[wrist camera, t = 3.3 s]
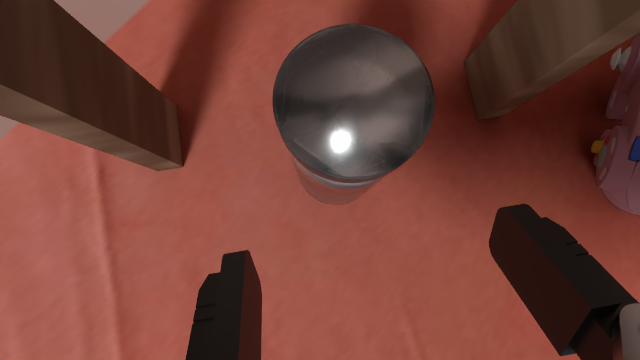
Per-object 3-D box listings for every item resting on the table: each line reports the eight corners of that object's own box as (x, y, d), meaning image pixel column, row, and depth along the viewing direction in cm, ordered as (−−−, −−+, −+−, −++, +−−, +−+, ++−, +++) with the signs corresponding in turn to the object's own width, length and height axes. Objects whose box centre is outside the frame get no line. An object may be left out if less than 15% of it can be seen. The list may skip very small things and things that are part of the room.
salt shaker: (367, 122, 22) (416, 13, 11) (382, 198, 21) (450, 163, 10) (291, 135, 21) (261, 36, 11) (303, 211, 21) (285, 191, 10)
